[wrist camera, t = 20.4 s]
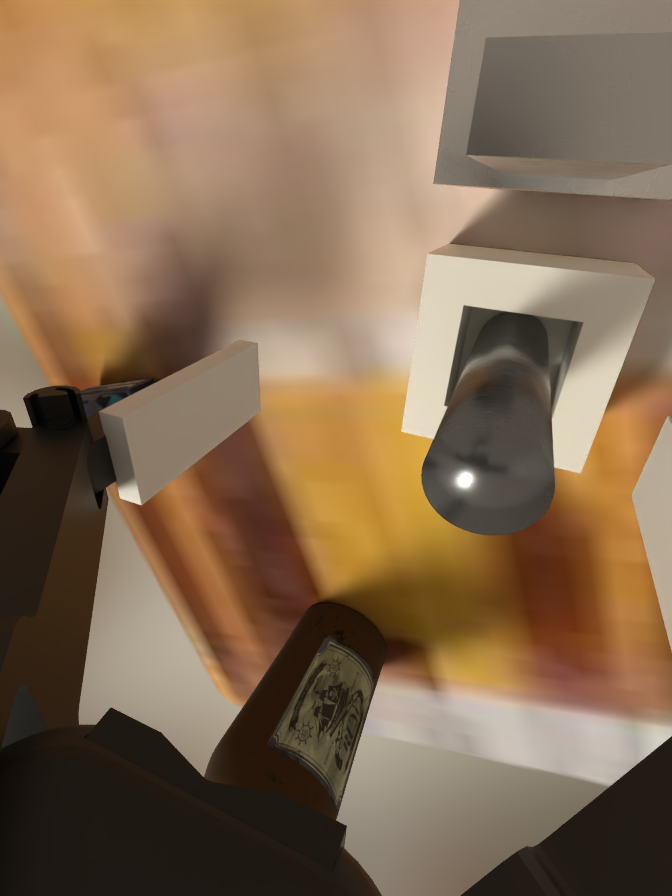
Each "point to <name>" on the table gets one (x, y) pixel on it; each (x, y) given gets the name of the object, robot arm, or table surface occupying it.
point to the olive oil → (306, 712)
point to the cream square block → (553, 303)
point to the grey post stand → (560, 98)
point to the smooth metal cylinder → (496, 433)
